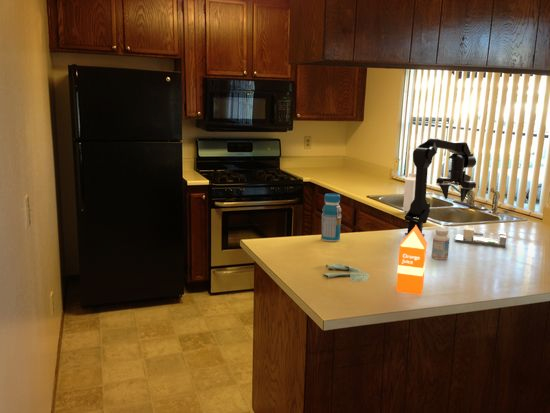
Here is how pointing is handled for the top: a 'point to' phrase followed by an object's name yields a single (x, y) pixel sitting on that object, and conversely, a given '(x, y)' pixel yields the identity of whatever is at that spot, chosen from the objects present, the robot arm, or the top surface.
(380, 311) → the top surface
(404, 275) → the orange juice
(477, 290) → the top surface
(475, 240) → the gauge base
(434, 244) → the pill bottle
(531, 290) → the top surface
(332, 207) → the beverage bottle
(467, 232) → the white square block
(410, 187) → the milk
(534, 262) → the top surface
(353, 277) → the cloth
